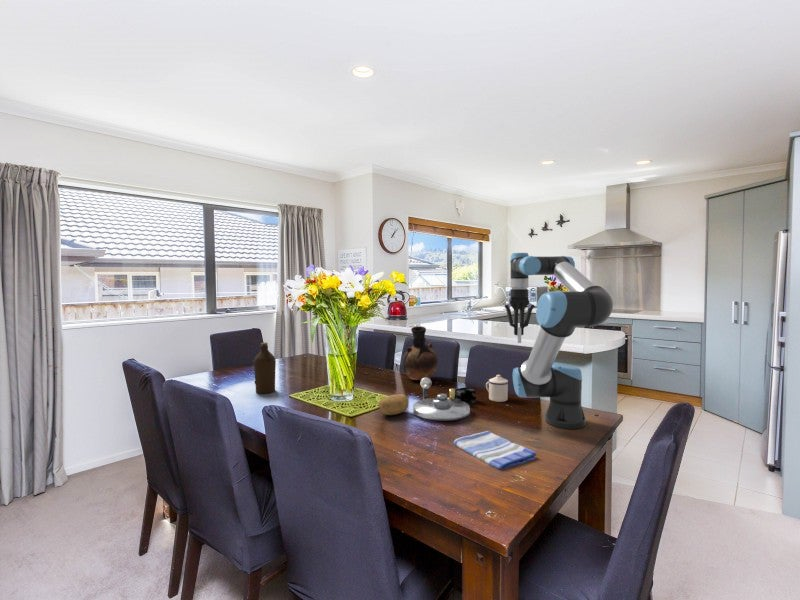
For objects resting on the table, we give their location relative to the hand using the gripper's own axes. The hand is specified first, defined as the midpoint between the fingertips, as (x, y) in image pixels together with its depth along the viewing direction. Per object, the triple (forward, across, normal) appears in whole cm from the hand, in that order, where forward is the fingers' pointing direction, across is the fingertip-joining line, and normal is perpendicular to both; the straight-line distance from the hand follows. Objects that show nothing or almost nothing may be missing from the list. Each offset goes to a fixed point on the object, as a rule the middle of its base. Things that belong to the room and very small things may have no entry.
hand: (518, 342), depth 184 cm
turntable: (+28, +34, +7) cm, 45 cm away
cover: (+26, +34, +7) cm, 43 cm away
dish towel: (+30, +20, +44) cm, 57 cm away
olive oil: (+30, +121, -27) cm, 128 cm away
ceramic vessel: (+30, +42, -51) cm, 72 cm away
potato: (+30, +55, +8) cm, 63 cm away
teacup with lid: (+30, +6, -15) cm, 34 cm away
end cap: (+30, +23, -9) cm, 38 cm away
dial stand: (+29, +41, -7) cm, 51 cm away
